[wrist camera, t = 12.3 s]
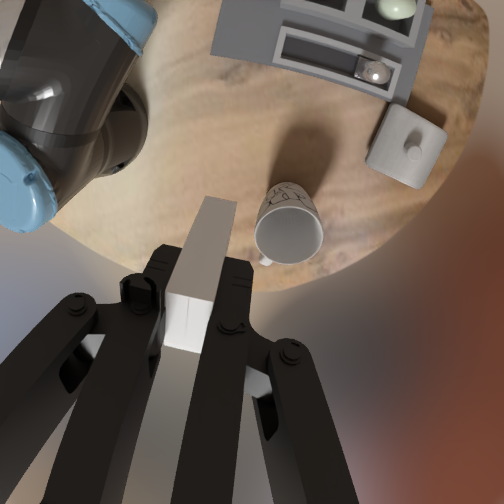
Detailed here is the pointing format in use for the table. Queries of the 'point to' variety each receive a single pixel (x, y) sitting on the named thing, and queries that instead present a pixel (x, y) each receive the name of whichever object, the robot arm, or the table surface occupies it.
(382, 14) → the sage button
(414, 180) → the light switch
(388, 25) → the panel
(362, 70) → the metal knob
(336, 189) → the table surface
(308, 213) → the mug
